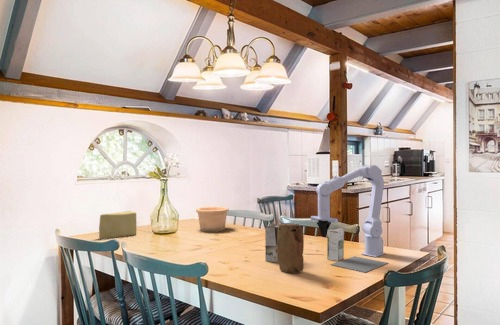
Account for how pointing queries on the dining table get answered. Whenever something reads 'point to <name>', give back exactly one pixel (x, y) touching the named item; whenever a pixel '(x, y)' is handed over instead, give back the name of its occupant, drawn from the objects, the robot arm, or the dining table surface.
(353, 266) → the mat
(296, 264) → the block
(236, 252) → the dining table surface
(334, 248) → the syrup box
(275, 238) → the coffee box
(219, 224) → the pottery
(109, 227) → the cheese
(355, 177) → the robot arm
